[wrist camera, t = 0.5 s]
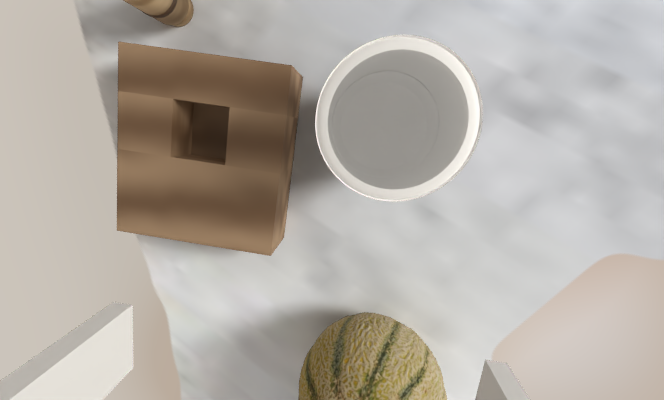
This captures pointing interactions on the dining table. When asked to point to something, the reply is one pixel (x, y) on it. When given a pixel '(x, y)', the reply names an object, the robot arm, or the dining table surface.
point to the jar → (399, 118)
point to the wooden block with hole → (205, 147)
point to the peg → (166, 10)
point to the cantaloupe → (370, 363)
